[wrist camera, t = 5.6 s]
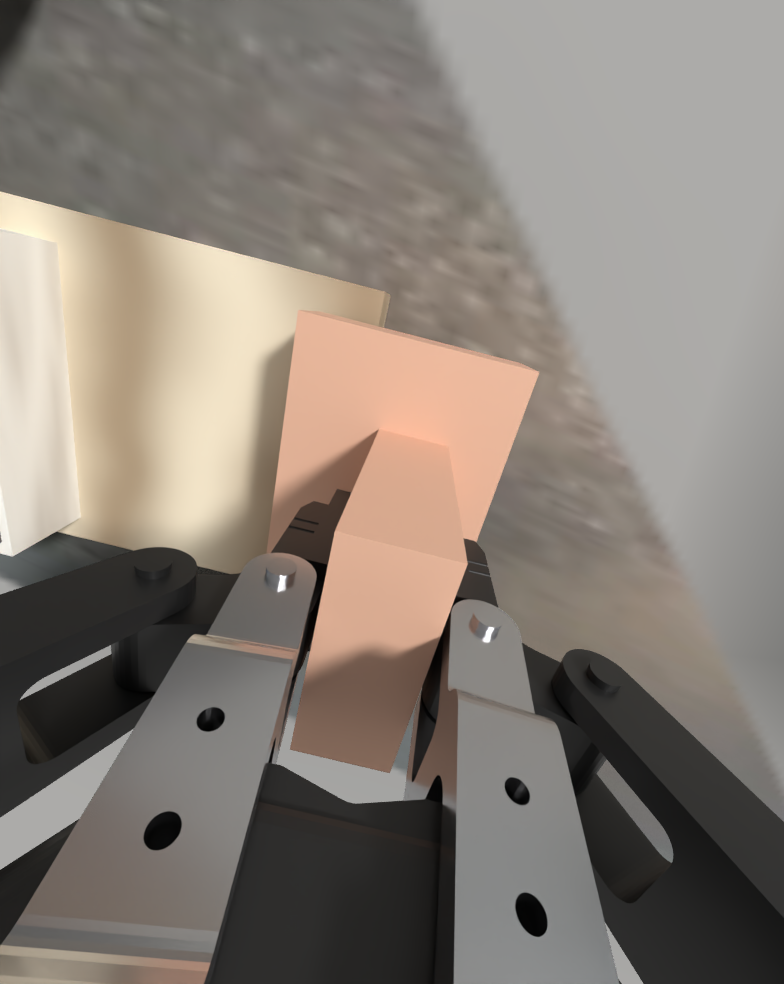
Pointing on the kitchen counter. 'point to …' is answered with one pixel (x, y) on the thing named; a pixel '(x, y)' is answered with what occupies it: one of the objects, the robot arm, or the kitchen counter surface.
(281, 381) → the pad
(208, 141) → the kitchen counter surface
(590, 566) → the kitchen counter surface
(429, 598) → the stub
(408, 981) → the robot arm
